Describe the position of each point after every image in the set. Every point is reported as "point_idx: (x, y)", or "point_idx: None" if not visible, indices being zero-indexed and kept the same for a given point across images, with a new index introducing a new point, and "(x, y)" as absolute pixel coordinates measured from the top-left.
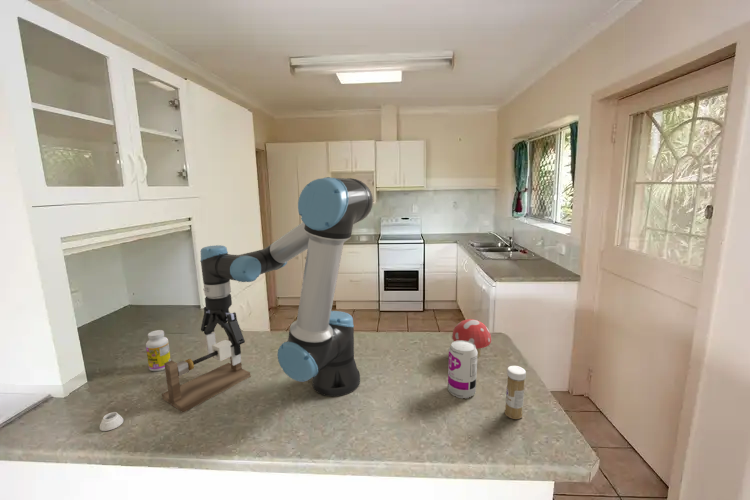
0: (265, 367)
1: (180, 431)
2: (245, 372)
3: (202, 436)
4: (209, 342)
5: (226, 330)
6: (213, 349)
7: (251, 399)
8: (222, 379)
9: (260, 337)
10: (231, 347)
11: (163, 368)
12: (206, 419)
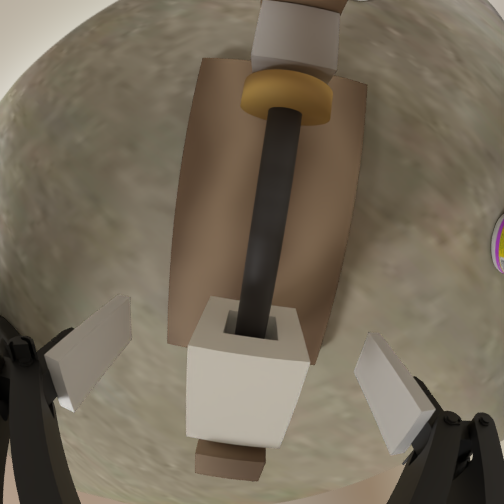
0: (180, 391)
1: (141, 31)
2: (184, 338)
3: (79, 60)
4: (391, 384)
5: (25, 474)
6: (287, 340)
7: (69, 230)
8: (226, 262)
9: (339, 473)
10: (55, 350)
11: (495, 233)
12: (111, 91)
